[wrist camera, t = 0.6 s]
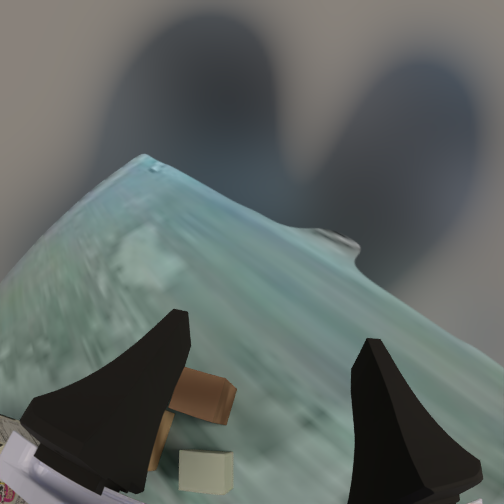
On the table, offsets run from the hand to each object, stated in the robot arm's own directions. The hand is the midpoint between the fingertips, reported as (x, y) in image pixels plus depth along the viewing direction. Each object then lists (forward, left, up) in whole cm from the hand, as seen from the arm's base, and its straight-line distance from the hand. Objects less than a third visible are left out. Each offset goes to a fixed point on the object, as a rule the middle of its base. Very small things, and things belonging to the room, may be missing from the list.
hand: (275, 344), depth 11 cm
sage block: (-9, +5, -18) cm, 21 cm away
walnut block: (-2, +7, -18) cm, 19 cm away
